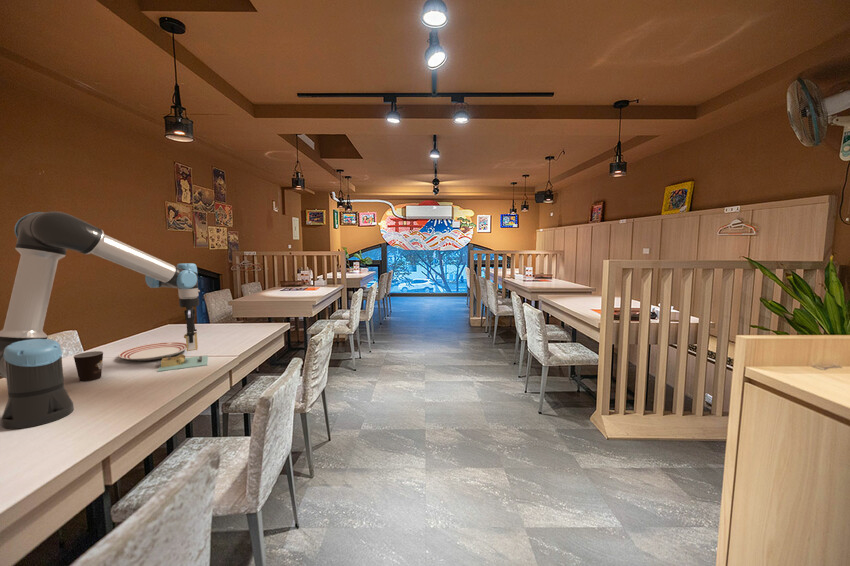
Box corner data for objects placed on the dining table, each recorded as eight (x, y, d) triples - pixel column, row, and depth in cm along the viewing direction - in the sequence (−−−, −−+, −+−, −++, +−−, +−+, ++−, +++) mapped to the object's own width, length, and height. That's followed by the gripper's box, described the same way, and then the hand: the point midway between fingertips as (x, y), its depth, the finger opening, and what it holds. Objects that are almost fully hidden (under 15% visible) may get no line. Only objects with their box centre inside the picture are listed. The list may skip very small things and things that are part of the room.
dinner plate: (153, 366, 161) (153, 358, 160) (102, 362, 166) (102, 355, 165) (202, 349, 187) (201, 343, 187) (157, 346, 192) (156, 340, 192)
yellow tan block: (197, 349, 164) (196, 334, 163) (184, 351, 161) (183, 336, 161) (197, 346, 169) (196, 332, 168) (185, 348, 167) (184, 333, 166)
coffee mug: (87, 383, 139) (85, 358, 138) (69, 381, 141) (67, 356, 140) (118, 373, 150) (116, 350, 149) (101, 371, 152) (99, 348, 151)
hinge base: (207, 365, 162) (206, 357, 161) (157, 371, 153) (157, 363, 152) (207, 356, 176) (207, 348, 175) (162, 361, 166) (161, 353, 166)
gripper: (198, 299, 157) (201, 351, 159) (199, 294, 173) (202, 341, 175) (177, 301, 153) (180, 354, 155) (180, 295, 169) (183, 343, 172)
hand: (192, 347), depth 165 cm, fingers closed on yellow tan block, 6 cm apart
